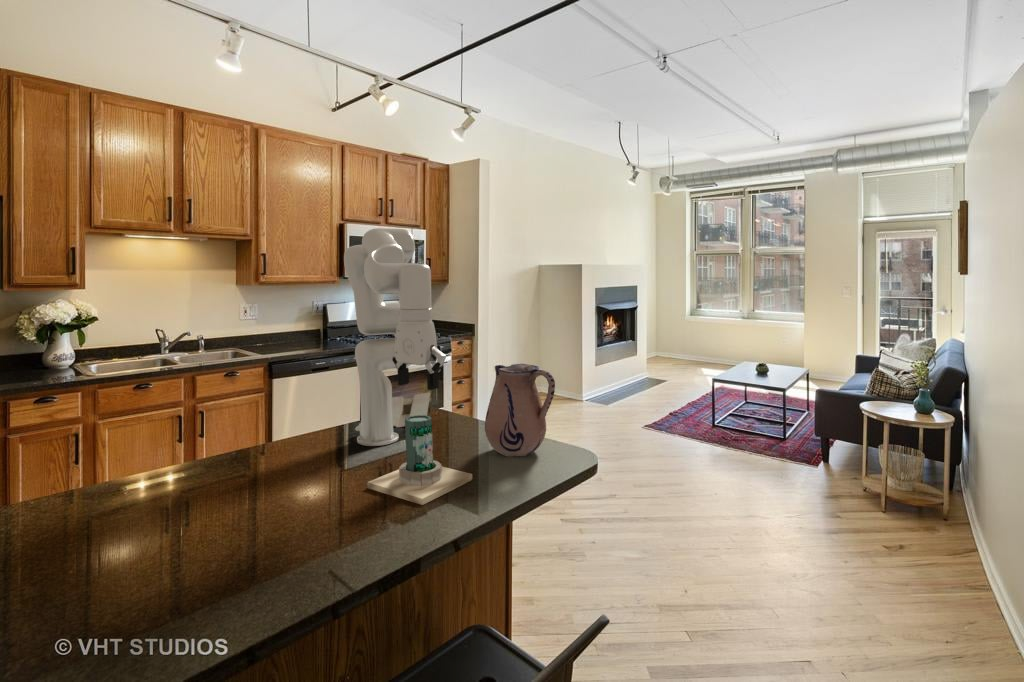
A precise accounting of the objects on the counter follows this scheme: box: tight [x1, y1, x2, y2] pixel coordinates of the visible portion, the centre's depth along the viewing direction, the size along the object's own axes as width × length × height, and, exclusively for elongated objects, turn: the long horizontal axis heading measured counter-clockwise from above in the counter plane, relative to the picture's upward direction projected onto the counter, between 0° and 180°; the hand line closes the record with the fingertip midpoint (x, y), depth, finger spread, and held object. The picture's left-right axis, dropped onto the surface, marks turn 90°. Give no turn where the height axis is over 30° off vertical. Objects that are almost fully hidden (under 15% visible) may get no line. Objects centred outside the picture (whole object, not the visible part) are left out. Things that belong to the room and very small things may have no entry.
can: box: [404, 415, 434, 472], centre depth 135 cm, size 6×6×15 cm
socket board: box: [367, 459, 473, 506], centre depth 136 cm, size 18×18×4 cm
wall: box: [392, 392, 431, 428], centre depth 194 cm, size 16×9×15 cm
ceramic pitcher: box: [484, 363, 556, 457], centre depth 158 cm, size 18×21×25 cm
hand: (418, 386), depth 134 cm, fingers open, 9 cm apart
